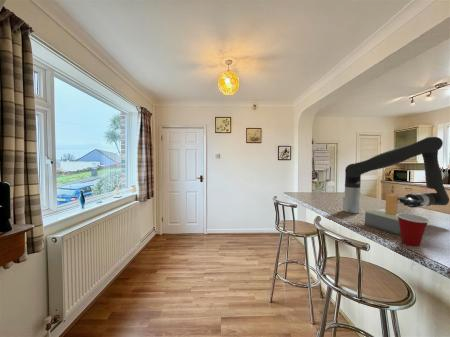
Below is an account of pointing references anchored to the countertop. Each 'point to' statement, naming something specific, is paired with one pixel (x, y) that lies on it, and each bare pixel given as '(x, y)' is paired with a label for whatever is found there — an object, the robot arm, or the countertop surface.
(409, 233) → the plastic cup
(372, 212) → the lid
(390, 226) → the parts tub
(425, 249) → the countertop surface
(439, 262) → the countertop surface
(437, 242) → the countertop surface
